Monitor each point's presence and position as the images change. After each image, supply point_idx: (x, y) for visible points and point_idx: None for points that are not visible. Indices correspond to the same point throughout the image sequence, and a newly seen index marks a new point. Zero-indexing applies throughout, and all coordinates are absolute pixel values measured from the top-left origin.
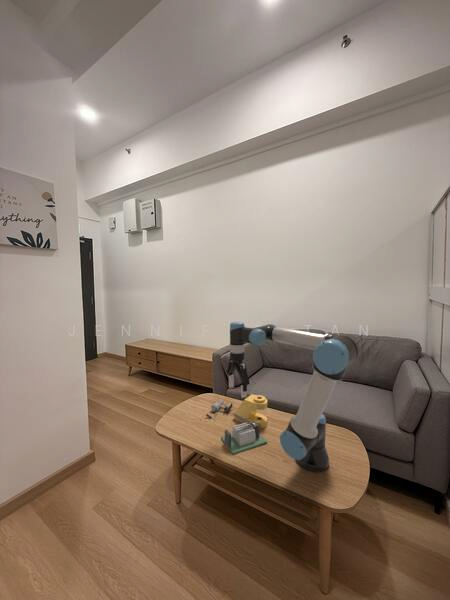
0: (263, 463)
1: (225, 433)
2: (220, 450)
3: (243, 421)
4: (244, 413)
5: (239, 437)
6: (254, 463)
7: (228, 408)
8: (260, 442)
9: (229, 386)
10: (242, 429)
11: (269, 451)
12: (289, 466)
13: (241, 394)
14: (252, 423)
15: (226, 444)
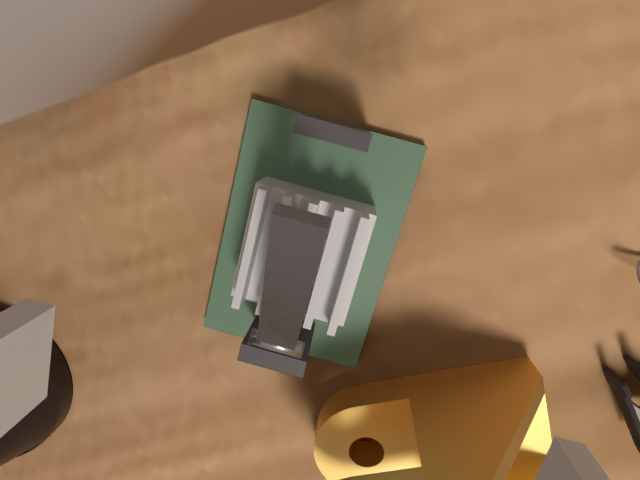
0: (103, 184)
1: (360, 130)
2: (334, 62)
3: (446, 374)
4: (450, 412)
5: (268, 186)
6: (129, 147)
7: (627, 398)
8: (219, 292)
9: (568, 455)
10: None
11: (151, 279)
12: (20, 266)
13: (3, 330)
14: (262, 332)
15: (342, 123)
